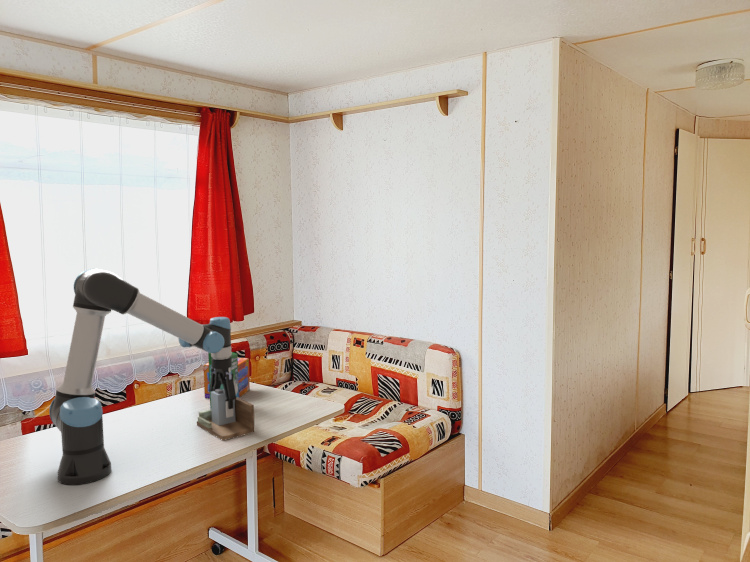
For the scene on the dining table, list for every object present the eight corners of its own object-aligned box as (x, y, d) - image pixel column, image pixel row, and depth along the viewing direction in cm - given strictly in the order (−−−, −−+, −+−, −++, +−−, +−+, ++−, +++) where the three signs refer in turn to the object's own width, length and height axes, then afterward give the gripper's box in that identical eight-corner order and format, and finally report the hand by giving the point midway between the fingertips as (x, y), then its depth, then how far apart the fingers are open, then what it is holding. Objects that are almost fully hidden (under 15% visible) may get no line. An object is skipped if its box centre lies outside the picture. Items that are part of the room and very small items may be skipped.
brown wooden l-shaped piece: (222, 440, 209) (221, 412, 208) (196, 425, 226) (195, 399, 225) (254, 431, 218) (253, 404, 217) (227, 417, 234) (226, 392, 233)
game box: (219, 388, 276) (218, 356, 274) (250, 390, 273) (249, 357, 272) (204, 398, 261) (203, 364, 259) (236, 400, 258) (235, 366, 256)
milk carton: (230, 411, 242) (228, 352, 240) (210, 410, 244) (208, 352, 242) (239, 404, 251) (237, 348, 249) (220, 403, 253) (218, 347, 250)
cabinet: (218, 425, 220) (217, 392, 219) (211, 421, 225) (210, 389, 224) (235, 421, 225) (234, 389, 224) (228, 417, 230) (227, 385, 228)
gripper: (244, 360, 217) (246, 418, 219) (217, 351, 233) (219, 404, 236) (226, 363, 212) (228, 422, 214) (199, 353, 228) (201, 408, 231)
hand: (223, 413), depth 225 cm, fingers open, 10 cm apart
